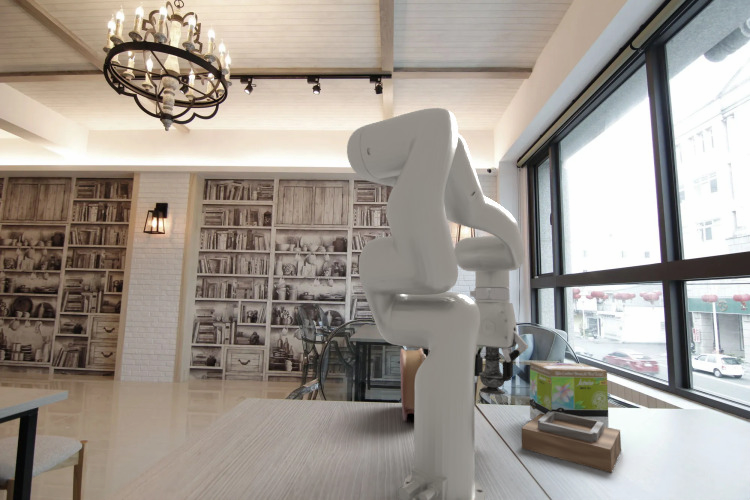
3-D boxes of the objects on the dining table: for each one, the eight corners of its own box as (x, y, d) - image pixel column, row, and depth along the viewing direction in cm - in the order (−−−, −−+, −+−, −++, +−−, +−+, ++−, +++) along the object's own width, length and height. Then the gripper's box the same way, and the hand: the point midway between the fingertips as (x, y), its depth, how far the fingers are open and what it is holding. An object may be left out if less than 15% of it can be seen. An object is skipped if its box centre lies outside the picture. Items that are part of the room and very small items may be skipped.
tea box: (552, 433, 87) (550, 368, 89) (529, 419, 97) (528, 361, 99) (610, 432, 89) (607, 369, 91) (582, 419, 99) (580, 361, 100)
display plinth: (611, 472, 68) (610, 440, 68) (521, 448, 78) (521, 420, 78) (621, 449, 78) (619, 422, 79) (541, 430, 88) (540, 406, 89)
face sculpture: (429, 429, 87) (430, 356, 90) (400, 427, 88) (401, 355, 90) (420, 404, 107) (421, 345, 109) (396, 403, 107) (398, 344, 110)
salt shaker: (485, 387, 86) (485, 334, 88) (510, 392, 83) (509, 337, 84) (474, 391, 82) (474, 335, 84) (500, 396, 78) (500, 338, 80)
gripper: (450, 294, 88) (449, 373, 85) (525, 296, 77) (526, 386, 74) (464, 296, 94) (464, 370, 91) (536, 298, 83) (538, 382, 80)
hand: (492, 377), depth 83 cm, fingers closed on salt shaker, 5 cm apart
